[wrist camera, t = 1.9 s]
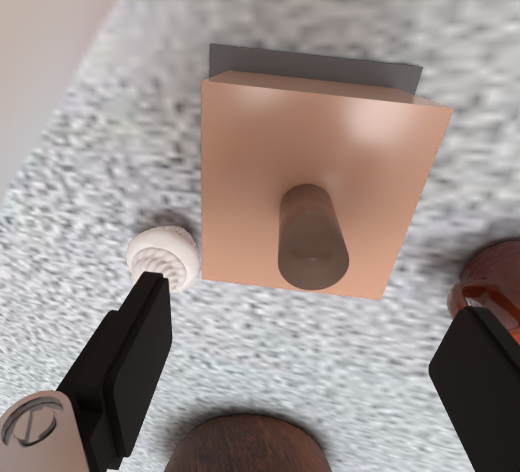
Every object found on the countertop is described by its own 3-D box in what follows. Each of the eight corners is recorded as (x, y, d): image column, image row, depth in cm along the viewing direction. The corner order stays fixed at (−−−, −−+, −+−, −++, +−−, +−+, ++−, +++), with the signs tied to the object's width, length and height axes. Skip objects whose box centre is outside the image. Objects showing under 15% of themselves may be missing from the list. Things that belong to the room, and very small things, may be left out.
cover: (230, 70, 21) (164, 94, 10) (395, 88, 21) (529, 134, 10) (224, 216, 27) (178, 343, 15) (354, 231, 27) (407, 370, 15)
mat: (211, 43, 21) (209, 43, 21) (419, 66, 21) (423, 67, 21) (209, 225, 28) (207, 228, 28) (364, 243, 28) (366, 247, 28)
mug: (579, 236, 27) (725, 329, 18) (519, 312, 31) (612, 416, 22) (439, 212, 26) (517, 295, 18) (400, 292, 31) (446, 389, 22)
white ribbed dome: (221, 236, 29) (205, 285, 23) (188, 277, 32) (165, 330, 26) (161, 197, 27) (127, 239, 21) (132, 244, 30) (94, 293, 24)
